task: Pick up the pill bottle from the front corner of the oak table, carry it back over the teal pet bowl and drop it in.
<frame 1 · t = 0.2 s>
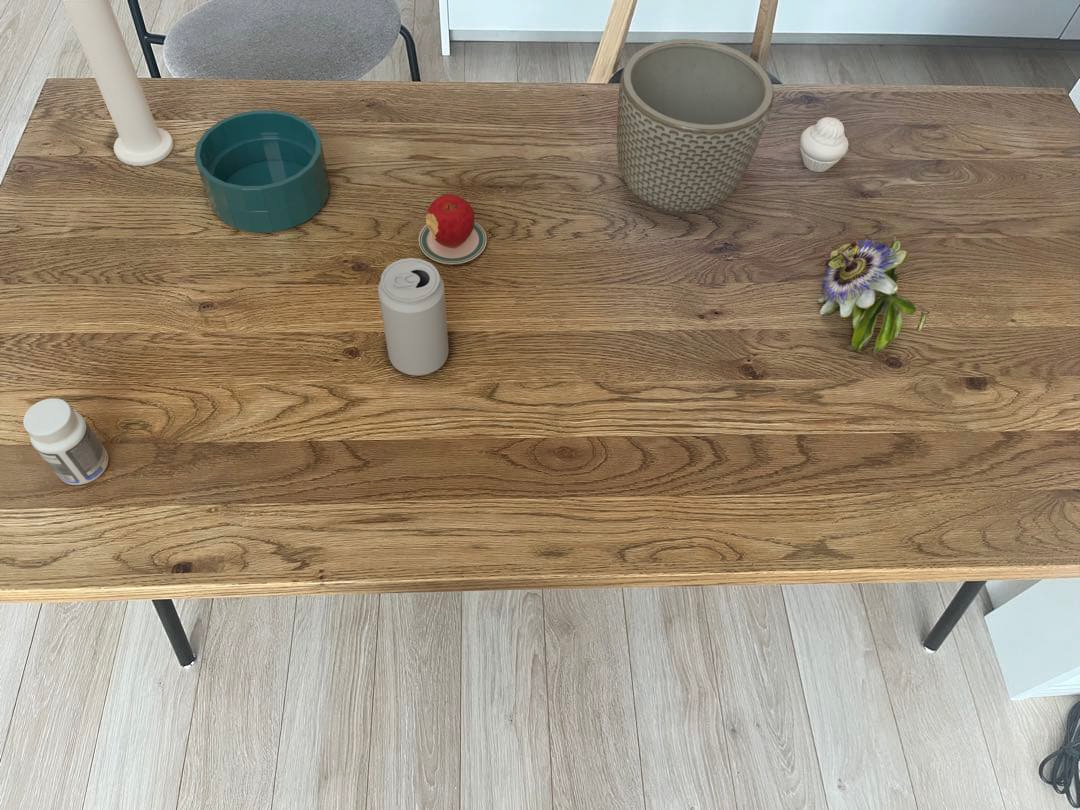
muffin: (815, 165, 115), on the table
planter: (673, 194, 110), on the table
candle: (145, 149, 110), on the table
apple: (452, 243, 103), on the table
beverage can: (419, 357, 93), on the table
pill bottle: (84, 466, 83), on the table
passion flower: (857, 315, 100), on the table
teal pet bowl: (270, 194, 106), on the table
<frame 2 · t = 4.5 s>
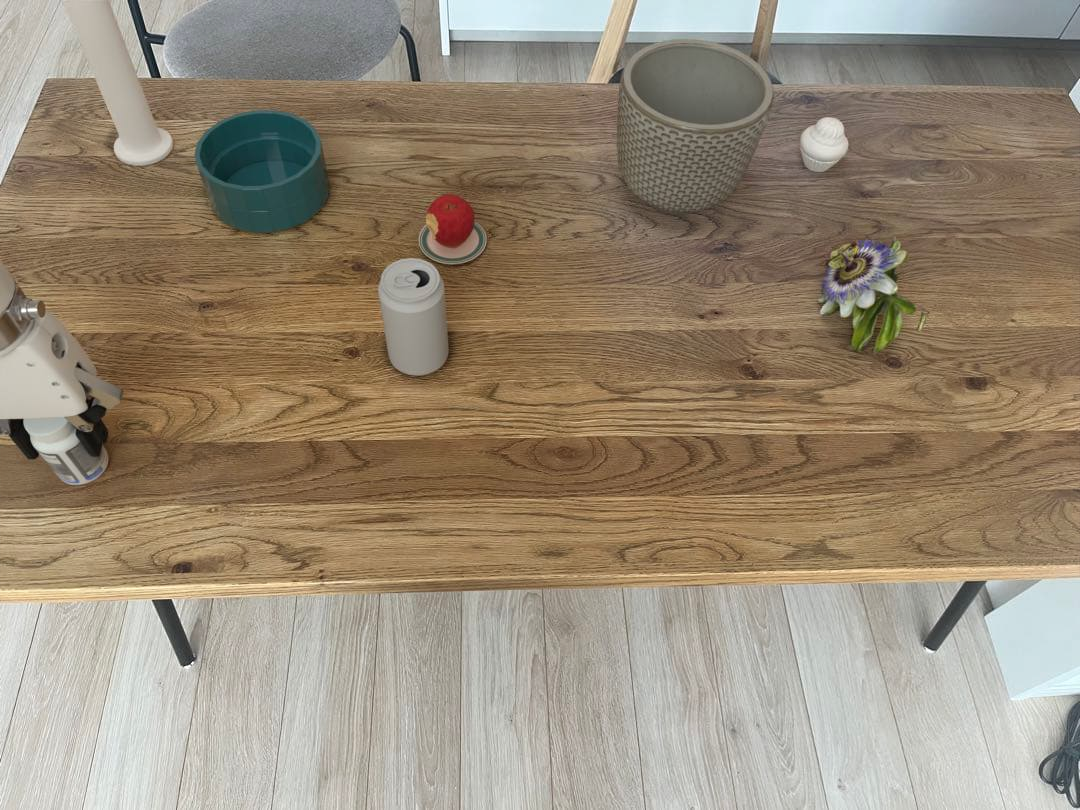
hand: (67, 443, 80), 4 cm above the table, tool pointing down, fingers closed on pill bottle, 4 cm apart
pill bottle: (84, 466, 83), on the table, touching gripper
everything else where it was.
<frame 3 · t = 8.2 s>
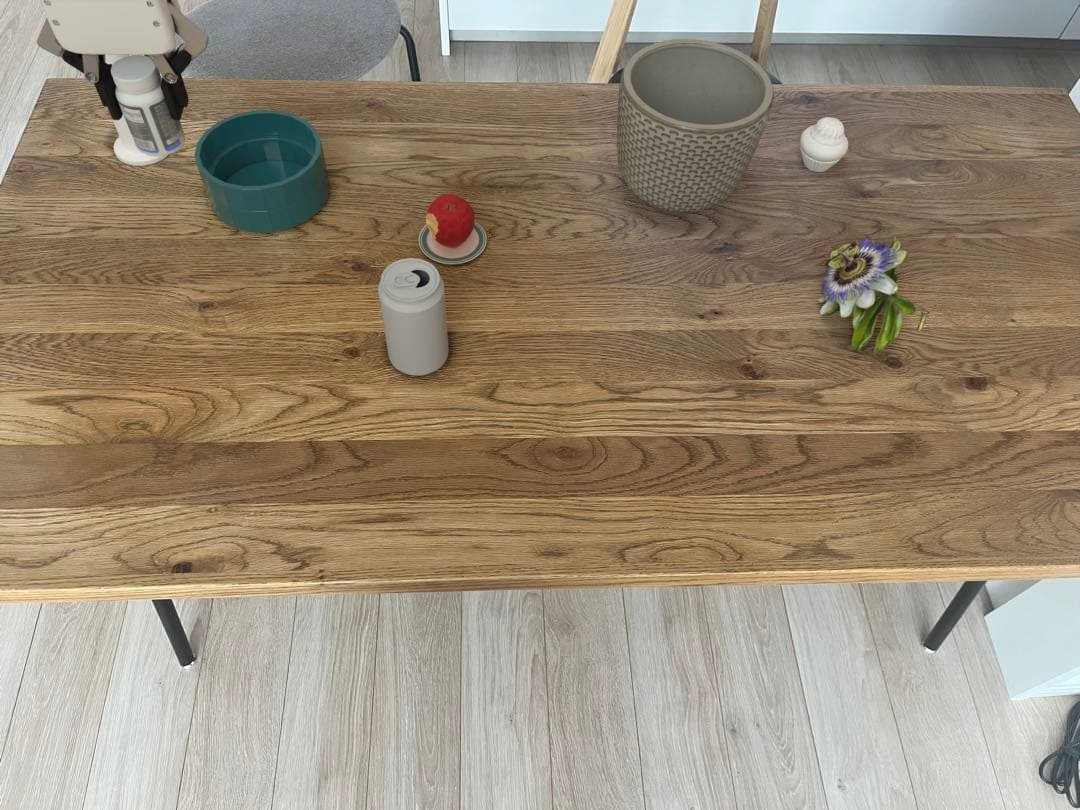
hand: (149, 109, 83), 20 cm above the table, tool pointing down, fingers closed on pill bottle, 4 cm apart
pill bottle: (161, 144, 86), point 16 cm above the table, touching gripper
everything else where it was.
when the fingers open (9 cm above the table, at t = 12.0 s): pill bottle drops 4 cm, resting on teal pet bowl.
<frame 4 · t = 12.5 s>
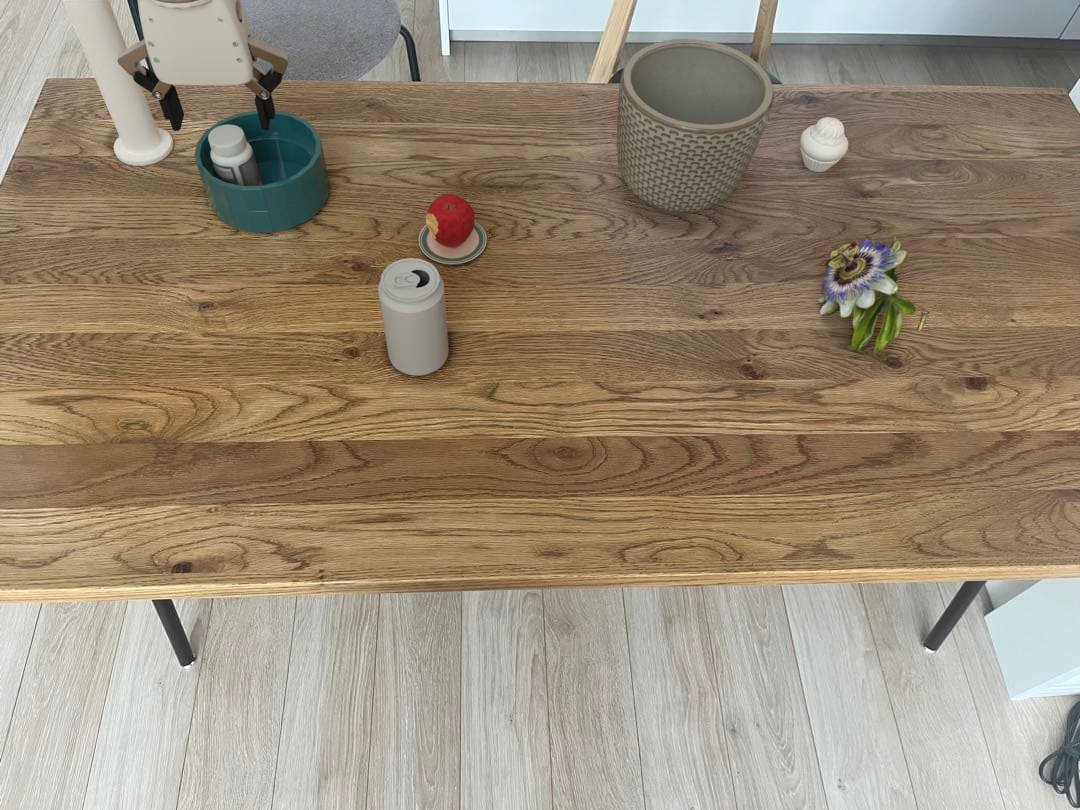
hand: (223, 123, 97), 10 cm above the table, tool pointing down, fingers open, 9 cm apart
pill bottle: (244, 193, 106), resting on teal pet bowl
everything else where it was.
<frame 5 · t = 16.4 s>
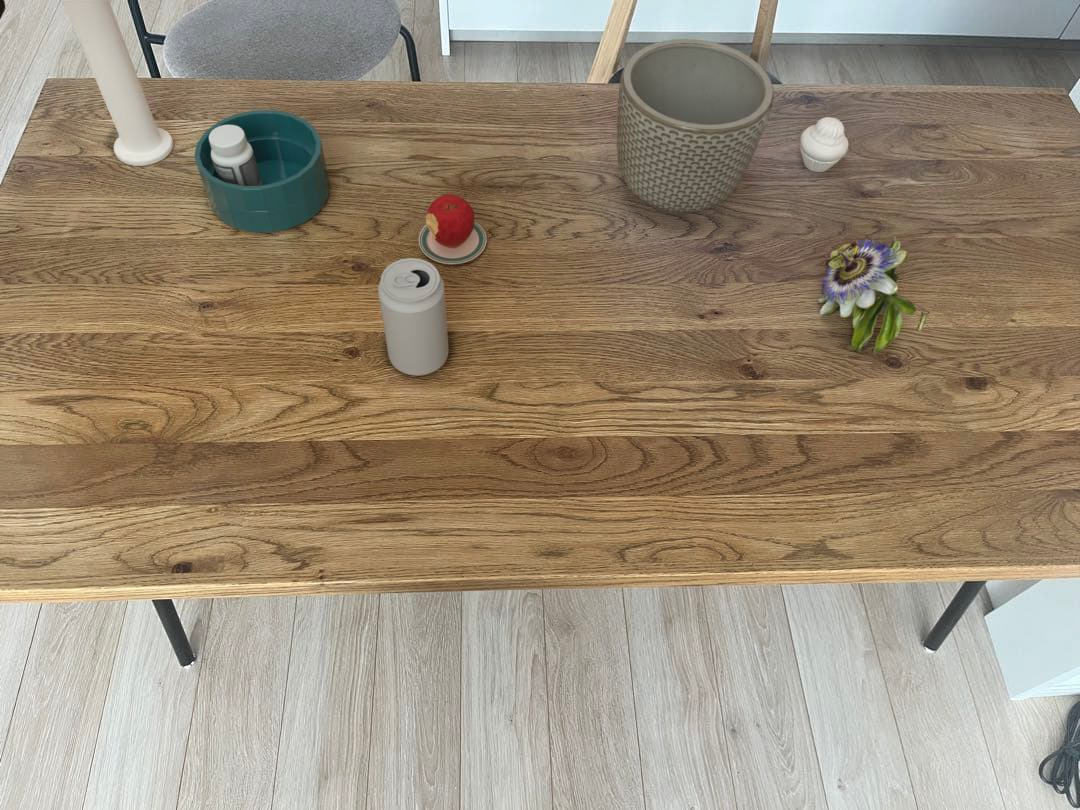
nothing on the table moved.
at the end: pill bottle inside the target area in the teal pet bowl (3.1 cm from its centre), point 0.3 cm above the teal pet bowl's base; the gripper is holding nothing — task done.
